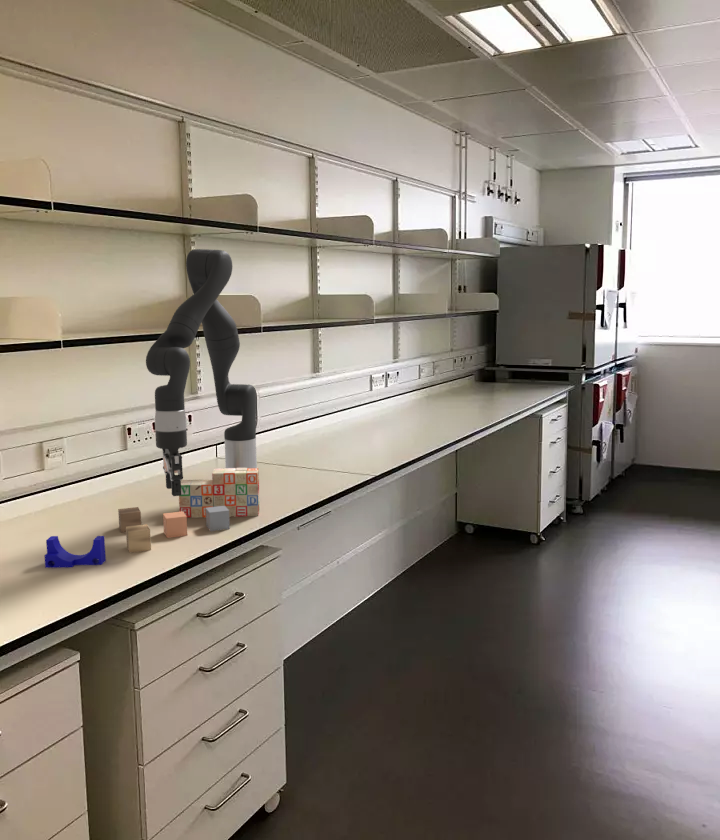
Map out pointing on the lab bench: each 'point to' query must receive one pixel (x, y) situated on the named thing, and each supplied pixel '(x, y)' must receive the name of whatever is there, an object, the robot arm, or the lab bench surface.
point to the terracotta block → (175, 524)
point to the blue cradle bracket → (65, 559)
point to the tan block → (129, 518)
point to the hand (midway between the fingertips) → (173, 491)
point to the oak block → (138, 538)
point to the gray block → (217, 518)
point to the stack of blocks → (222, 493)
